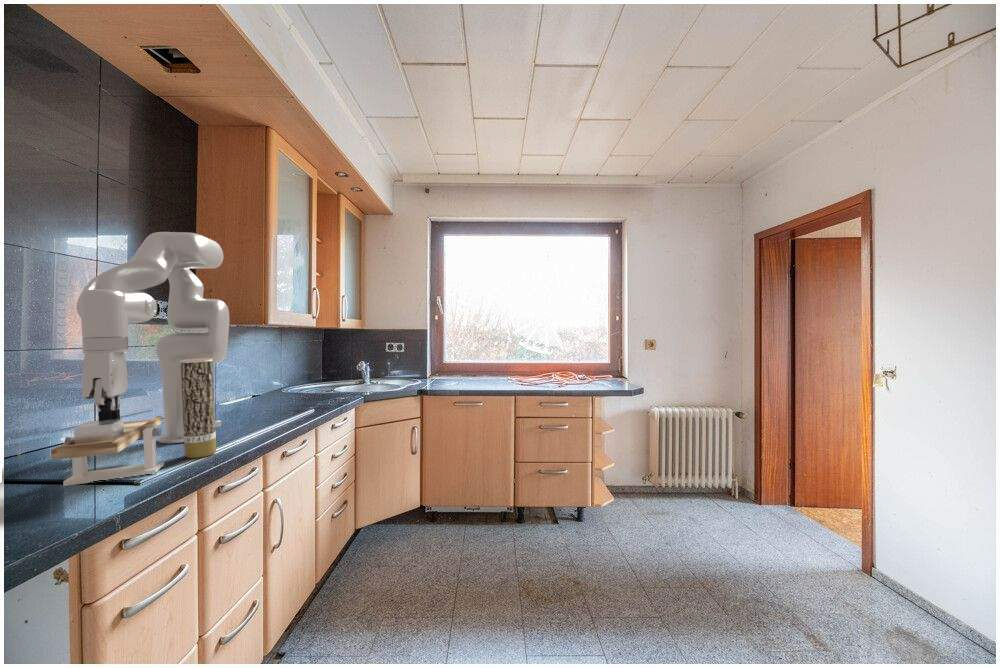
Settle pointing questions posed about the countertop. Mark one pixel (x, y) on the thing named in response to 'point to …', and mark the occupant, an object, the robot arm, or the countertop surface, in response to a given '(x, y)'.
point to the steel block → (99, 431)
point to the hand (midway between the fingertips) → (109, 428)
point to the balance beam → (131, 434)
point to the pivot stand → (150, 466)
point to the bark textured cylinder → (198, 407)
